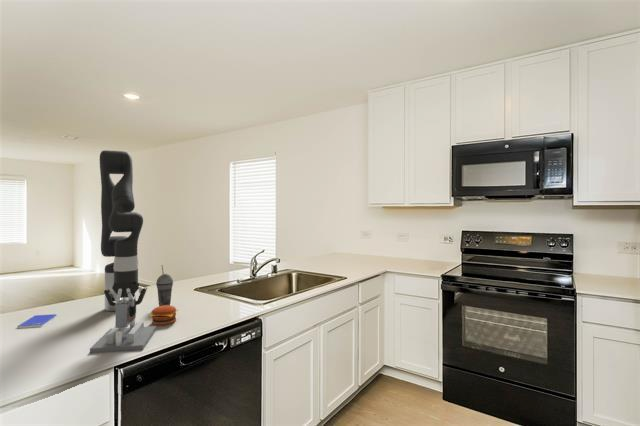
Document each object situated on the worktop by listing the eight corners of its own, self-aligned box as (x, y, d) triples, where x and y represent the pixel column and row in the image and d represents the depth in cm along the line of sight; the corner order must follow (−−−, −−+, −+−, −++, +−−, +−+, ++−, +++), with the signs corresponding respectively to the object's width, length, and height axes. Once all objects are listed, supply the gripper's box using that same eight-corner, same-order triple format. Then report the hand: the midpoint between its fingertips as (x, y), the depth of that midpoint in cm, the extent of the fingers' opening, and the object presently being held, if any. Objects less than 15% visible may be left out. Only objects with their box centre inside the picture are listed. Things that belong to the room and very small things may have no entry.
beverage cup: (172, 309, 159) (173, 266, 158) (155, 310, 156) (155, 266, 155) (173, 304, 165) (173, 263, 165) (156, 306, 163) (156, 264, 162)
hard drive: (42, 324, 134) (57, 314, 146) (17, 325, 132) (34, 315, 144) (42, 328, 134) (57, 317, 146) (17, 329, 132) (34, 319, 144)
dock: (110, 332, 130) (110, 316, 129) (156, 329, 133) (156, 314, 133) (89, 353, 112) (89, 334, 112) (143, 349, 116) (143, 331, 115)
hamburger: (156, 318, 146) (156, 303, 146) (179, 318, 147) (179, 302, 147) (147, 326, 137) (147, 309, 137) (172, 326, 138) (172, 309, 138)
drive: (125, 318, 127) (125, 296, 127) (135, 317, 128) (135, 296, 127) (115, 328, 117) (115, 304, 117) (126, 327, 118) (126, 303, 118)
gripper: (150, 266, 127) (150, 312, 128) (108, 266, 124) (107, 314, 124) (144, 270, 120) (144, 319, 120) (99, 271, 117) (99, 321, 117)
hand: (126, 316), depth 122 cm, fingers closed on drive, 3 cm apart
